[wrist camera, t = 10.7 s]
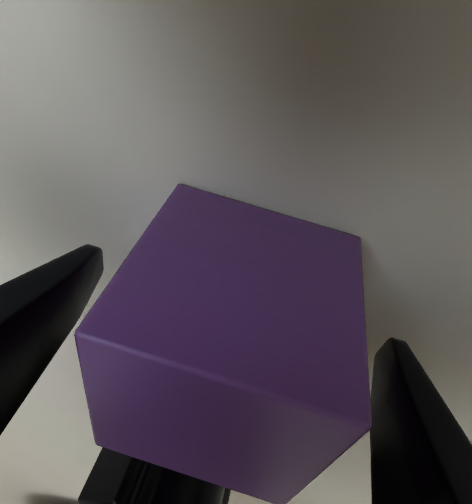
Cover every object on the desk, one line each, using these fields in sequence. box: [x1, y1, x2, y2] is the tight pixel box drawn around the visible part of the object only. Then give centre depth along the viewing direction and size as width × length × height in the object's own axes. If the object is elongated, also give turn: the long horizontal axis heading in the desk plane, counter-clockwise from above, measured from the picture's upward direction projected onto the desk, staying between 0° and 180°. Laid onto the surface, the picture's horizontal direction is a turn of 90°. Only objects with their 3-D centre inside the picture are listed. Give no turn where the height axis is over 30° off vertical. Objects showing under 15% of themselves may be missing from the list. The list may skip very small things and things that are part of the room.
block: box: [74, 184, 372, 504], centre depth 9 cm, size 5×5×5 cm
